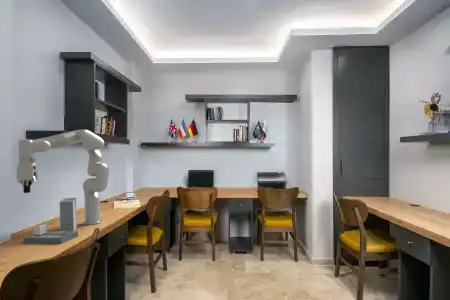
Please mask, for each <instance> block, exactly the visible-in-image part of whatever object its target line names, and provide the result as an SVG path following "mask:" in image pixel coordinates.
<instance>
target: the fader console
mask: <svg viewBox="0 0 450 300" xmlns="http://www.w3.org/2000/svg"><path fill="white" fill-rule="evenodd" d="M78 237H79V231H78V230H75V231H60V230H47V233H44V234H41V235H34V233H33V234H30V235H27V236H24V237H23V238H22V239H23V240H22V243H23V244H64V243H66V242H68V241H70V240H73V239H76V238H78Z"/></svg>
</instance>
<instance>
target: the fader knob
mask: <svg viewBox="0 0 450 300" xmlns="http://www.w3.org/2000/svg"><path fill="white" fill-rule="evenodd" d="M47 226H48V224H47V223H44V222H43V223H39V224H36V225H33V234H34V235H41V234H44V233H47V231H48V229H47Z"/></svg>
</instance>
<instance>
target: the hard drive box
mask: <svg viewBox="0 0 450 300" xmlns="http://www.w3.org/2000/svg"><path fill="white" fill-rule="evenodd" d="M77 228H78V214H77V197H69V198H68V197H67V198H63V199H62V200H60V201H59V231H77Z"/></svg>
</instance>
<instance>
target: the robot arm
mask: <svg viewBox="0 0 450 300" xmlns="http://www.w3.org/2000/svg"><path fill="white" fill-rule="evenodd" d="M78 143H82V147H83V148H84V149H85V151H86V152H87V154H88V162H87V163H88V164H87V169H86V171H87V172H86V173H87V175H88V176H90V178H87V179H85V180H83V181H84V182H83V183H82V190H83V194H84V221H82V225H84V226H87V225H89V226H90V225H91V226H92V225H97V224H101V223H103V220H102V219H101V218H103V215H102V214H100V194H99V193H103V192H104V191H106V189H107V187H108V183H109V177H110V176H109V175H110V169H109V166H108V165H107V164H106V163H104V162H103V161H102V160H103V154H102V152H101V151H100V150H103V148H104V147H105V141H104V139H103V138H101V137H100V136H98V134H95V133H94V132H92V131H91V130H88V129H86V128H85V129H76V130H72V131H68V132H64V133H59V134H54V135H51V136H46V137H41V138H37V139H20V140H18V163H17V167H16V180H17V183H19V184H21V185H22V187H23V193H24V194H27V193H31V186H32V184H34V183H36V182H37V180H38V179H39V178H38V177H39V175H38V166H37V163H36V162H35V161H36V158H35V153H45V152H48V151H49V150H50V149H57V148H65V147H68V146H72V145H76V144H78ZM92 177H93V178H92Z"/></svg>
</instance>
